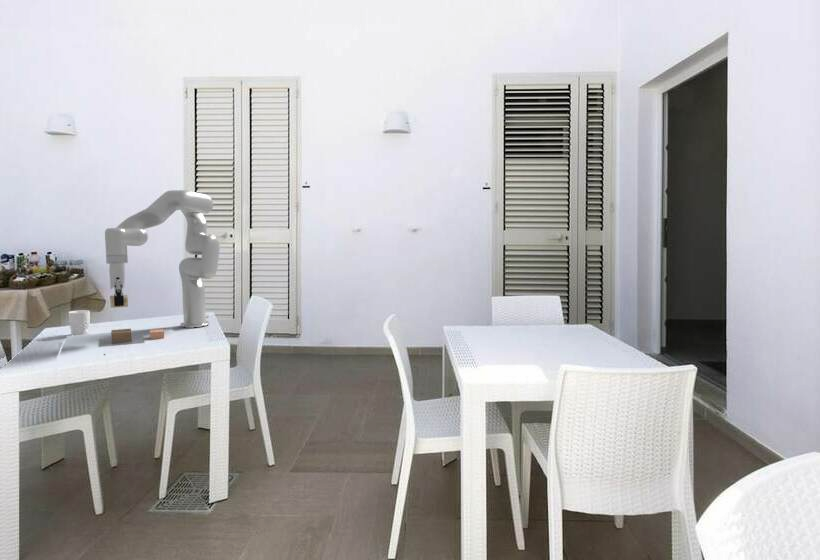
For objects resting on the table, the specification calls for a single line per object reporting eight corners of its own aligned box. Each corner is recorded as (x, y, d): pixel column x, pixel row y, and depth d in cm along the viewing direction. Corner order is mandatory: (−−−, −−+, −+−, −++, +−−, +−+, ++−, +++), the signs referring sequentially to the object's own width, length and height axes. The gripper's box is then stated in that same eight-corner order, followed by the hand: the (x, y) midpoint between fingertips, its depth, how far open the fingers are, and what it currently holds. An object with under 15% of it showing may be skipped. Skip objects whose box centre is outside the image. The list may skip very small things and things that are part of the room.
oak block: (110, 305, 225) (110, 295, 225) (127, 304, 228) (127, 294, 228) (110, 307, 220) (110, 297, 220) (127, 306, 223) (127, 296, 222)
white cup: (66, 336, 238) (65, 313, 236) (74, 332, 245) (72, 310, 244) (87, 336, 239) (85, 312, 238) (93, 332, 247) (92, 309, 246)
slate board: (99, 341, 230) (99, 338, 229) (143, 337, 237) (143, 334, 237) (98, 349, 215) (98, 346, 215) (144, 345, 223) (144, 342, 223)
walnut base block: (111, 339, 228) (111, 330, 227) (131, 338, 231) (130, 328, 230) (111, 343, 221) (111, 333, 221) (131, 341, 225) (131, 331, 224)
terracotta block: (150, 339, 233) (149, 330, 233) (163, 338, 235) (163, 329, 235) (150, 342, 229) (150, 332, 228) (164, 340, 231) (163, 331, 230)
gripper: (106, 258, 228) (108, 302, 230) (105, 261, 213) (108, 308, 215) (127, 257, 231) (129, 301, 233) (128, 260, 216) (130, 307, 218)
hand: (119, 304), depth 224 cm, fingers closed on oak block, 6 cm apart
